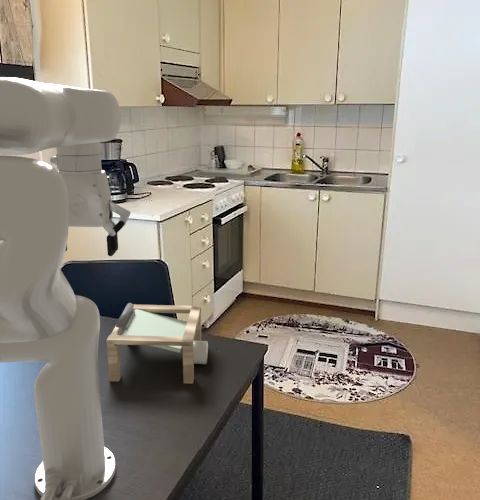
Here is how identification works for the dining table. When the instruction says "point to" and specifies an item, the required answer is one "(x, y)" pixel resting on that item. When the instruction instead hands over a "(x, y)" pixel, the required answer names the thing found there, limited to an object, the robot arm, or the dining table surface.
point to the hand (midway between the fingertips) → (87, 253)
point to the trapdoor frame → (158, 339)
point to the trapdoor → (150, 325)
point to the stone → (200, 352)
